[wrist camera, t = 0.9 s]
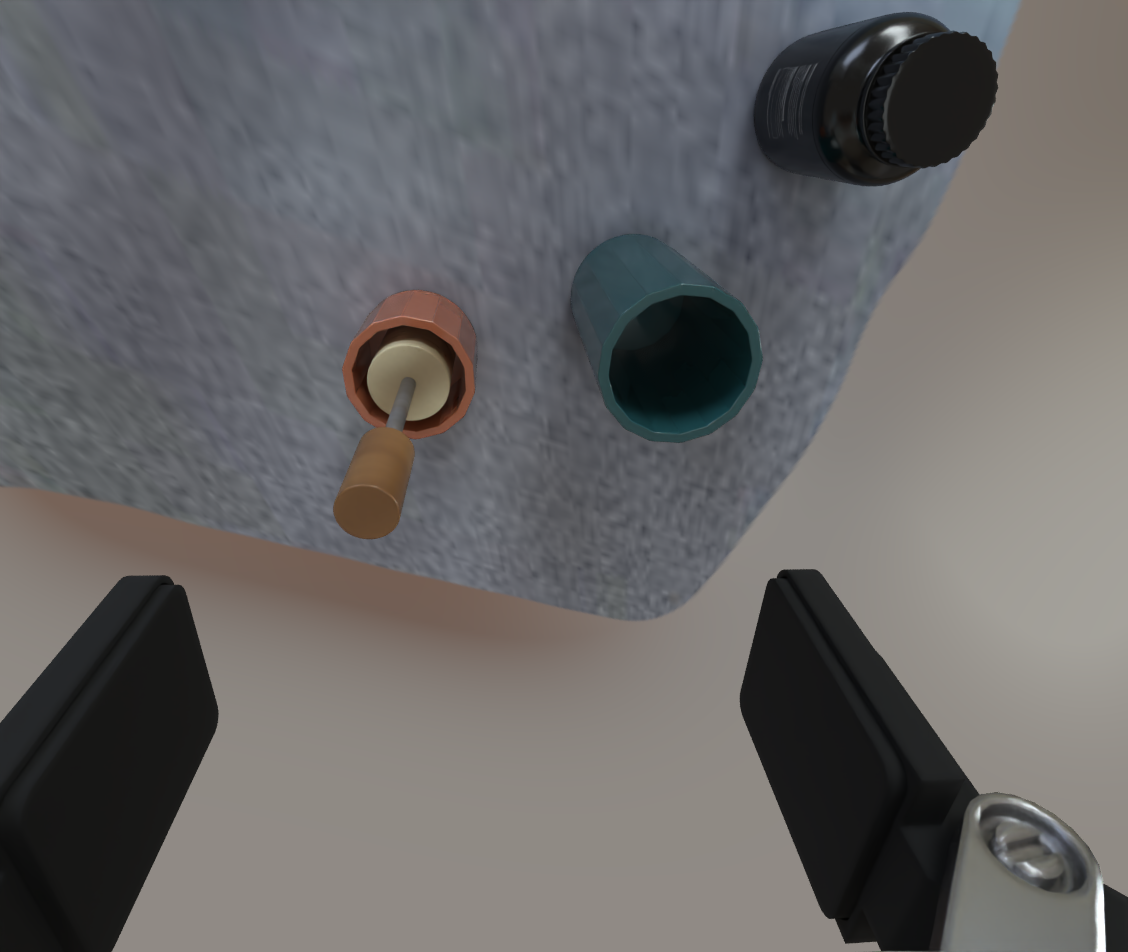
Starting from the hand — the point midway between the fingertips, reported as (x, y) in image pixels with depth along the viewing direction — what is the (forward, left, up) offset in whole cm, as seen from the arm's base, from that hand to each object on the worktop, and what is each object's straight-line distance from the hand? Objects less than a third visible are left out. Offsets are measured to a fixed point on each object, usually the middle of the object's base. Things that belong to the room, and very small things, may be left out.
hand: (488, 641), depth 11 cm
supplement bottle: (+5, +19, -32) cm, 38 cm away
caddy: (+1, -7, -32) cm, 33 cm away
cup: (+7, +5, -32) cm, 33 cm away
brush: (+1, -7, -32) cm, 33 cm away
